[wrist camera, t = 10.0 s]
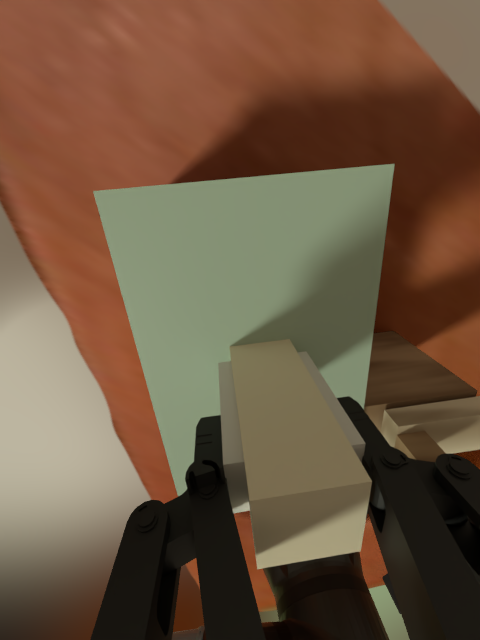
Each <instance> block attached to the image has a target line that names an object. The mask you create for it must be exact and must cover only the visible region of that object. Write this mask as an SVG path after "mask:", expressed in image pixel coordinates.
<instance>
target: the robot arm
mask: <svg viewBox="0 0 480 640" xmlns="http://www.w3.org/2000/svg"><path fill="white" fill-rule="evenodd" d="M297 353H298V354H299V356H300V358H301V360H302V361H303V363H304V365H305V366H306V368H307V370H308V372H309V373H310V375H311V377H312V379H313V380H314V382H315V384H316V385H317V387H318V389H319V391H320V392H321V394H322V396H323V398H324V399H325V401H326V403H327V404H328V406H329V408H330V410H331V411H332V413H333V415H334V417H335V418H336V420H337V422H338V423H339V425H340V427H341V429H342V430H343V432H344V434H345V436H346V437H347V439H348V441H349V442H350V444H351V446H352V448H353V449H354V451H355V453H356V455H357V456H358V458H359V460H360V461H361V463H362V465H363V467H364V468H365V470H366V472H367V474H368V475H369V477H370V479H371V480H372V485H371V491H370V497H369V503H368V509H367V514H369V517H370V520H371V523H372V526H373V529H374V532H375V535H376V538H377V541H378V544H379V547H380V550H381V553H382V556H383V559H384V562H385V565H386V568H387V571H388V574H389V578H390V581H391V584H392V587H393V590H394V593H395V596H396V599H397V602H398V605H399V608H400V611H401V614H402V617H403V620H404V623H405V626H406V629H407V632H408V635H409V638H410V640H480V469H478V468H477V467H476V466H475V465H474V464H472V463H471V462H470V461H468V460H467V459H465V458H463V457H461V456H458V455H454V454H441V455H439V456H438V457H437V459H436V461H435V462H430V461H423V460H416V459H411V458H408V457H407V455H406V454H404V453H403V452H402V451H400V450H399V449H396V448H394V447H391V446H390V445H389V443H388V442H387V441H386V439H385V438H384V437H383V435H382V434H381V432H380V431H379V430H378V428H377V427H376V426H375V424H374V423H373V422H372V420H370V418H369V416H368V415H367V414H366V413H365V411H364V409H363V408H362V407H361V405H360V404H359V403H358V402H357V401H355V400H354V399H352V398H351V397H350V396H347V397H340V398H336V397H335V395H334V393H333V392H332V390H331V389H330V387H329V386H328V384H327V383H326V381H325V379H324V378H323V376H322V375H321V373H320V372H319V370H318V369H317V367H316V365H315V364H314V362H313V361H312V359H311V358H310V356H309V355H308V353H307V351H305V352H297ZM218 371H219V391H220V411H221V415H217V416H210V417H203V418H201V419H200V420H199V422H198V424H197V426H196V438H195V452H194V462H193V463H192V464H191V465H190V466H189V468H188V469H187V471H186V475H185V481H186V485H187V490H186V491H185V492H184V493H183V494H182V495H180V496H179V497H177V498H175V499H173V500H171V501H169V502H167V503H165V504H163V503H162V502H160V501H158V500H150V501H147V502H144V503H142V504H141V505H140V506H138V507H137V508H136V509H135V510H134V511H133V512H132V514H131V515H130V517H129V519H128V521H127V524H126V527H125V530H124V534H123V537H122V540H121V543H120V547H119V550H118V553H117V556H116V559H115V562H114V566H113V569H112V572H111V575H110V579H109V582H108V585H107V588H106V591H105V595H104V598H103V601H102V605H101V608H100V611H99V614H98V617H97V621H96V624H95V627H94V630H93V634H92V636H91V640H389V638H388V635H387V633H386V631H385V628H384V626H383V623H382V621H381V618H380V616H379V614H378V611H377V609H376V607H375V604H374V601H373V599H372V597H371V594H370V592H369V589H368V587H367V584H366V582H365V579H364V576H363V572H362V566H361V559H360V553H359V552H353V553H348V554H342V555H336V556H330V557H325V558H319V559H313V560H307V561H302V562H296V563H290V564H284V565H279V566H273V567H267V568H263V570H264V573H265V575H266V578H267V580H268V582H269V585H270V587H271V590H272V592H273V594H274V597H275V600H276V605H277V611H278V617H279V622H265V623H261V619H260V615H259V611H258V607H257V603H256V599H255V596H254V592H253V588H252V584H251V580H250V576H249V572H248V568H247V564H246V561H245V557H244V553H243V549H242V545H241V541H240V537H239V533H238V529H237V525H236V522H235V518H234V514H233V513H238V512H244V511H250V506H249V497H248V489H247V480H246V471H245V463H244V455H243V447H242V440H241V432H240V425H239V417H238V409H237V402H236V394H235V386H234V379H233V371H232V364H231V361H227V362H220V363H218ZM366 518H367V515H366ZM195 558H197V567H198V575H199V583H200V592H201V599H202V609H203V617H204V626H200V627H199V628H198V629H193V630H187V631H180V632H174V633H173V625H174V618H175V610H176V602H177V594H178V585H179V577H180V570H181V566H183V565H185V564H186V563H188V562H190V561H191V560H193V559H195Z"/></svg>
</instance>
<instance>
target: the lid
mask: <svg viewBox="0 0 480 640" xmlns="http://www.w3.org/2000/svg"><path fill="white" fill-rule="evenodd" d="M394 165H395V164H386V165H375V166H364V167H353V168H342V169H331V170H320V171H309V172H298V173H287V174H276V175H266V176H255V177H244V178H233V179H222V180H211V181H200V182H189V183H178V184H167V185H156V186H145V187H135V188H124V189H113V190H102V191H93V192H94V196H95V199H96V203H97V207H98V210H99V214H100V217H101V221H102V225H103V228H104V232H105V235H106V239H107V243H108V246H109V250H110V253H111V257H112V261H113V264H114V268H115V271H116V275H117V279H118V282H119V286H120V289H121V293H122V296H123V300H124V304H125V307H126V311H127V314H128V318H129V322H130V325H131V329H132V332H133V336H134V340H135V343H136V347H137V350H138V354H139V358H140V361H141V365H142V368H143V372H144V376H145V379H146V383H147V386H148V390H149V394H150V397H151V401H152V404H153V408H154V411H155V415H156V419H157V422H158V426H159V429H160V433H161V437H162V440H163V444H164V447H165V451H166V455H167V458H168V462H169V465H170V469H171V473H172V476H173V480H174V483H175V487H176V491H177V494H178V496H180V495H182V494H183V493H184V492H185V491H186V490H187V485H186V481H185V475H186V471H187V469H188V468H189V466H190V465H191V464H192V463H193V462H194V452H195V438H196V426H197V424H198V422H199V420H200V419H201V418H203V417H210V416H217V415H221V411H220V391H219V371H218V363H220V362H227V361H231V364H232V371H233V379H234V386H235V394H236V402H237V409H238V417H239V425H240V432H241V440H242V447H243V455H244V463H245V471H246V480H247V489H248V497H249V506H250V515H251V523H252V530H253V538H254V546H255V554H256V562H257V569H261V568H267V567H273V566H279V565H284V564H290V563H296V562H302V561H307V560H313V559H319V558H325V557H330V556H336V555H342V554H348V553H353V552H359V551H361V546H362V540H363V534H364V527H365V521H366V515H367V509H368V503H369V497H370V491H371V485H372V480H371V479H370V477H369V475H368V474H367V472H366V470H365V468H364V467H363V465H362V463H361V461H360V460H359V458H358V456H357V455H356V453H355V451H354V449H353V448H352V446H351V444H350V442H349V441H348V439H347V437H346V436H345V434H344V432H343V430H342V429H341V427H340V425H339V423H338V422H337V420H336V418H335V417H334V415H333V413H332V411H331V410H330V408H329V406H328V404H327V403H326V401H325V399H324V398H323V396H322V394H321V392H320V391H319V389H318V387H317V385H316V384H315V382H314V380H313V379H312V377H311V375H310V373H309V372H308V370H307V368H306V366H305V365H304V363H303V361H302V360H301V358H300V356H299V354H298V353H297V352H305V351H307V353H308V355H309V356H310V358H311V359H312V361H313V362H314V364H315V365H316V367H317V369H318V370H319V372H320V373H321V375H322V376H323V378H324V379H325V381H326V383H327V384H328V386H329V387H330V389H331V390H332V392H333V393H334V395H335V397H336V398H340V397H347V396H350V397H351V398H352V399H354V400H355V401H357V402H358V403H359V404H360V405H361V407H362V408H363V409H364V404H365V396H366V388H367V380H368V372H369V364H370V356H371V348H372V340H373V332H374V324H375V316H376V308H377V300H378V292H379V284H380V276H381V268H382V260H383V252H384V244H385V236H386V228H387V221H388V213H389V205H390V197H391V189H392V181H393V173H394Z"/></svg>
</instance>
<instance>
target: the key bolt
mask: <svg viewBox="0 0 480 640" xmlns="http://www.w3.org/2000/svg"><path fill="white" fill-rule="evenodd" d="M381 434H382V435H383V437H384V438H385V439H386V441H387V442H388V443H389V445H390V446H391V447H394V448H396V449H399V450H400V451H402V452H403V453H404V454H406V455H407V457H408V458H411V459H416V460H423V461H430V462H435V461H436V459H437V457H438V456H439V455H441V454H453V453H459V452H466V451H472V450H479V449H480V396H477V397H471V398H464V399H457V400H450V401H443V402H436V403H429V404H422V405H415V406H408V407H401V408H394V409H387V410H384V416H383V421H382V427H381Z"/></svg>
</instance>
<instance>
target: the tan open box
mask: <svg viewBox="0 0 480 640" xmlns="http://www.w3.org/2000/svg"><path fill="white" fill-rule="evenodd" d="M476 393H477V390H476V389H474V388H473V387H471V386H470V385H469V384H467V383H466V382H464V381H463V380H462V379H460V378H459V377H457V376H456V375H455V374H453V373H452V372H450V371H449V370H448V369H446V368H445V367H443V366H442V365H441V364H439V363H438V362H436V361H435V360H434V359H432V358H431V357H429V356H428V355H427V354H425V353H424V352H422V351H421V350H420V349H418V348H417V347H415V346H414V345H413V344H411V343H410V342H408V341H407V340H406V339H404V338H403V337H401V336H400V335H399V334H397V333H396V332H394V331H389V332H381V333H373V340H372V348H371V356H370V364H369V372H368V380H367V388H366V396H365V404H364V411H365V413H366V414H367V415H368V416H369V418H370V420H372V422H373V423H374V424H375V426H376V427H377V428H378V430H379V431H380V432H381V427H382V421H383V416H384V410H387V409H394V408H401V407H408V406H415V405H422V404H429V403H436V402H443V401H450V400H457V399H464V398H471V397H475V396H476Z"/></svg>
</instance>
